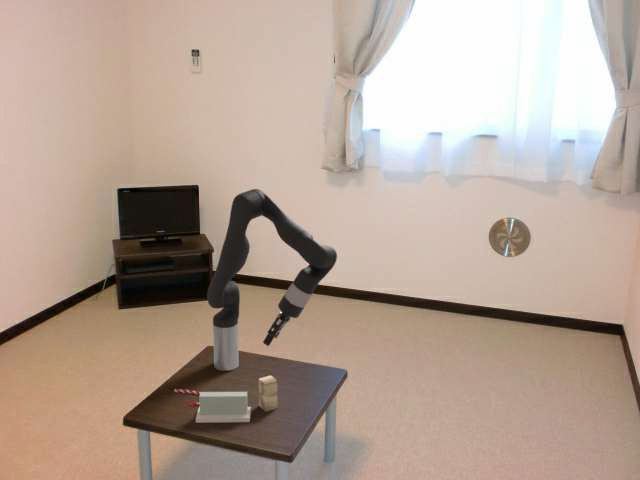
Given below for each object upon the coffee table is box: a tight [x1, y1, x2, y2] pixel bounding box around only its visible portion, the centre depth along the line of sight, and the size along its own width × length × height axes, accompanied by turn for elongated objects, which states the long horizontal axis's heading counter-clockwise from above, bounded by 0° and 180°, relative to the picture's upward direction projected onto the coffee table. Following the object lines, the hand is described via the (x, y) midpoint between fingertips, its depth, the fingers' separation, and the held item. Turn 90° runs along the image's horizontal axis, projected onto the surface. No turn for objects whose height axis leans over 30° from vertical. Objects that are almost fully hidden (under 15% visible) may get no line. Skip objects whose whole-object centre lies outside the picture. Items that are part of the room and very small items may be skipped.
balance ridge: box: [195, 391, 252, 424], centre depth 201 cm, size 7×17×8 cm, turn 92°
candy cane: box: [173, 388, 201, 407], centre depth 214 cm, size 8×1×15 cm
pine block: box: [258, 375, 278, 412], centre depth 207 cm, size 4×4×10 cm
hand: (269, 340), depth 201 cm, fingers open, 8 cm apart
